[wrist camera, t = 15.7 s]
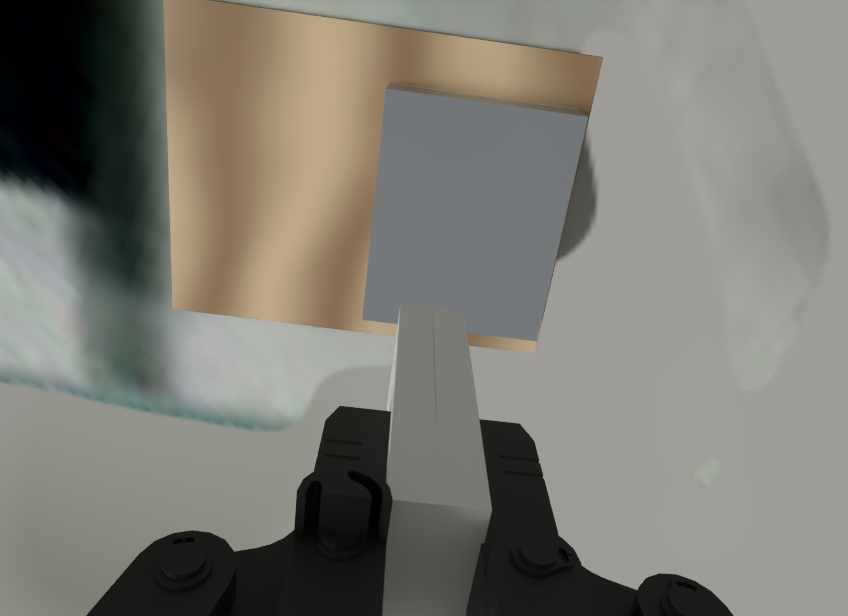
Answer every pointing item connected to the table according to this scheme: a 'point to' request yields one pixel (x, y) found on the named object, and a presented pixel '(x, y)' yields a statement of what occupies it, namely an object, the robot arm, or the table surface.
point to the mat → (309, 149)
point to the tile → (470, 207)
